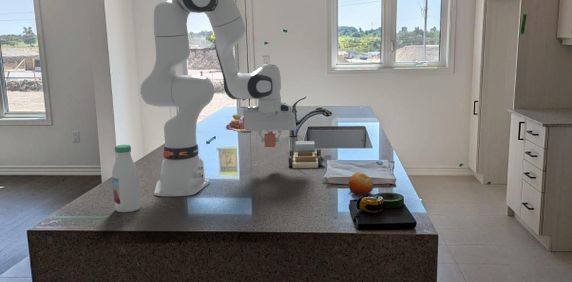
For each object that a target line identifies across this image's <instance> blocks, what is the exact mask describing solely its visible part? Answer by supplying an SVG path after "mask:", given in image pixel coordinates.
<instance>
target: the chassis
mask: <svg viewBox="0 0 572 282" xmlns="http://www.w3.org/2000/svg"><path fill="white" fill-rule="evenodd" d="M315 149H316V150H315ZM321 152H322V149H321V148H315V141H314V140H310V141H309V140H308V141H307V140H303V141H302V140H300V141H297V140H296V141H295V151H294V149H293V148H291V149H289V156H288V167H292V169H318V168H319V167H322V166H323V157H322V153H321Z"/></svg>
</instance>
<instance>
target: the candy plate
mask: <svg viewBox="0 0 572 282" xmlns="http://www.w3.org/2000/svg"><path fill="white" fill-rule="evenodd" d="M232 118H233V120H230V122H229V124H227V125H226V126H225V129H228V130H232V131H233V132H234V131H235V132H241V133H242V132H249V131H246V130H245V129H244V119H245V118H244V116H243V114H242V115H241V114H238V113H237V114H236V113H235V114H233V115H232Z"/></svg>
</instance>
